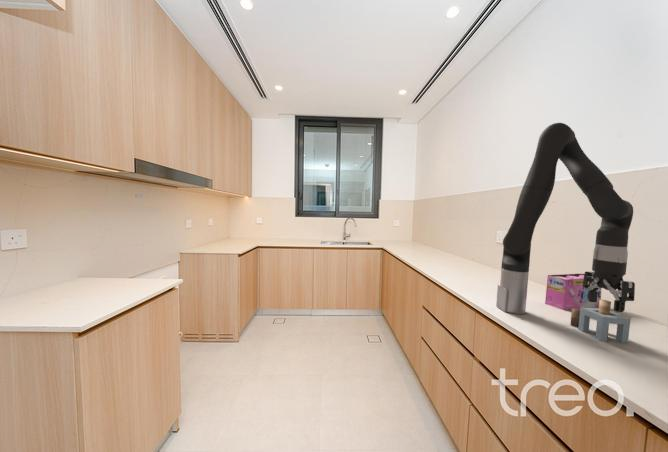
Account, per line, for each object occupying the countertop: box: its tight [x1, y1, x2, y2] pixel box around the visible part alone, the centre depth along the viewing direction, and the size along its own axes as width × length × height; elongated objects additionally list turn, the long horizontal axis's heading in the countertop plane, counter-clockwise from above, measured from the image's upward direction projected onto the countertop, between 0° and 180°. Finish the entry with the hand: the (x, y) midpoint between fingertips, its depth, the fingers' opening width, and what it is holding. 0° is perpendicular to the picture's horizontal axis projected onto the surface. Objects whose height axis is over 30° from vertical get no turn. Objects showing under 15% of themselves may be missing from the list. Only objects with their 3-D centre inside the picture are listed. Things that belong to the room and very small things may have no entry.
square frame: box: [577, 307, 631, 344], centre depth 82 cm, size 8×8×8 cm
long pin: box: [598, 299, 612, 339], centre depth 82 cm, size 3×3×12 cm
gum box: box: [544, 273, 602, 311], centre depth 111 cm, size 24×8×14 cm, turn 104°
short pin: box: [570, 309, 580, 328], centre depth 90 cm, size 3×3×6 cm
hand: (604, 306), depth 82 cm, fingers open, 8 cm apart
